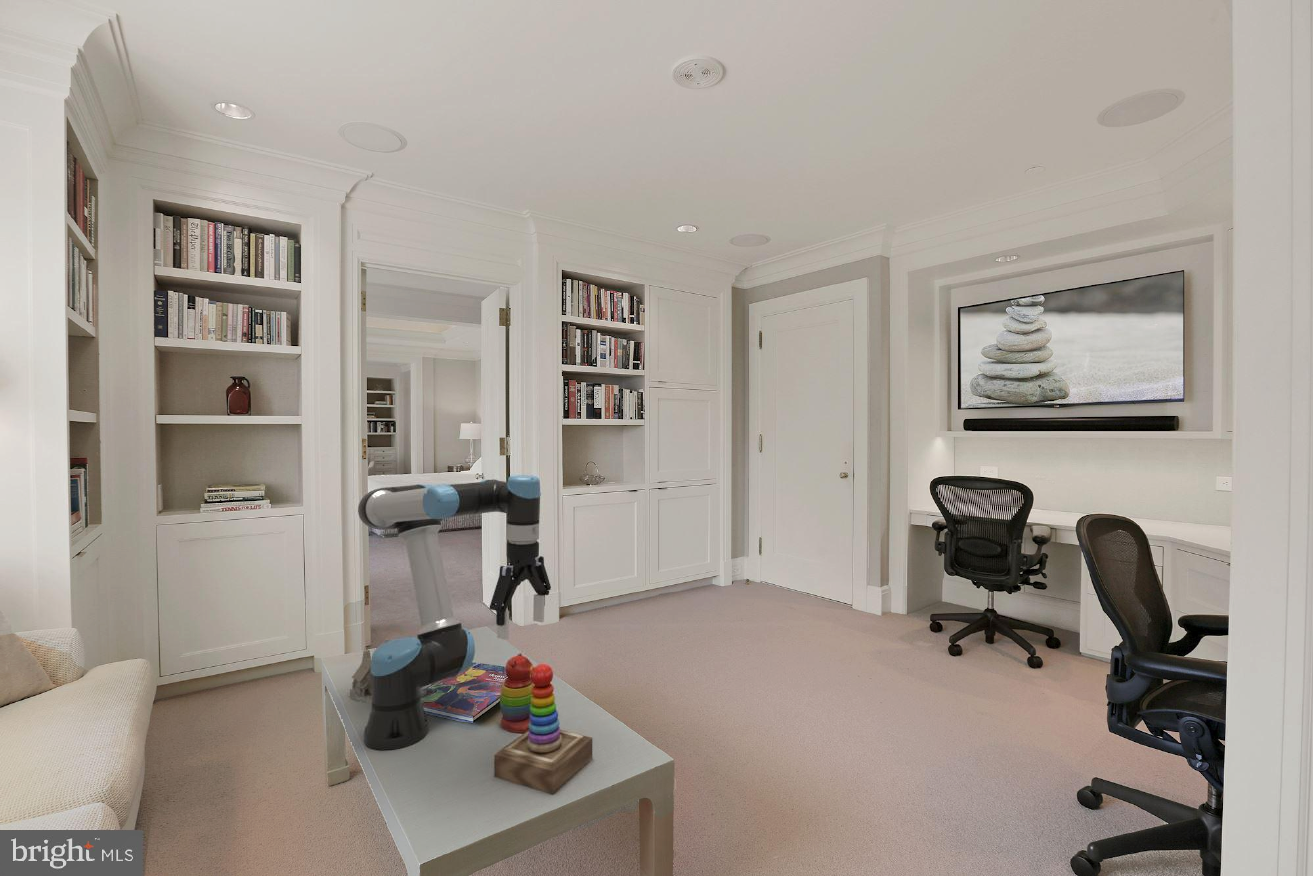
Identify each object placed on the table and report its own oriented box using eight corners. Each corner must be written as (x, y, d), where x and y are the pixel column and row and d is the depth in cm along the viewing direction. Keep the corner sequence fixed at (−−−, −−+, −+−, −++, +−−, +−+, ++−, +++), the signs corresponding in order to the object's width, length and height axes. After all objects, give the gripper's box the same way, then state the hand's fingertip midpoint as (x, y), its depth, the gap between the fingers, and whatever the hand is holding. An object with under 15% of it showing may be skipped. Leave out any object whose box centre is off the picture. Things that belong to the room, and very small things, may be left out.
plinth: (494, 776, 140) (494, 750, 140) (537, 743, 155) (537, 720, 155) (553, 794, 133) (553, 767, 133) (592, 758, 148) (592, 734, 148)
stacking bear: (528, 734, 159) (528, 665, 159) (492, 730, 161) (492, 662, 161) (544, 715, 170) (544, 650, 170) (510, 712, 172) (510, 648, 172)
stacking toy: (563, 736, 148) (562, 658, 148) (560, 753, 140) (558, 671, 140) (530, 737, 148) (528, 659, 147) (524, 755, 140) (523, 672, 139)
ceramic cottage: (345, 691, 185) (348, 641, 185) (403, 680, 195) (406, 633, 194) (357, 713, 173) (360, 660, 172) (418, 700, 183) (420, 650, 182)
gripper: (501, 552, 134) (499, 649, 135) (565, 534, 157) (564, 617, 158) (474, 548, 138) (472, 643, 138) (541, 531, 160) (539, 612, 161)
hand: (521, 629), depth 148 cm, fingers open, 13 cm apart
